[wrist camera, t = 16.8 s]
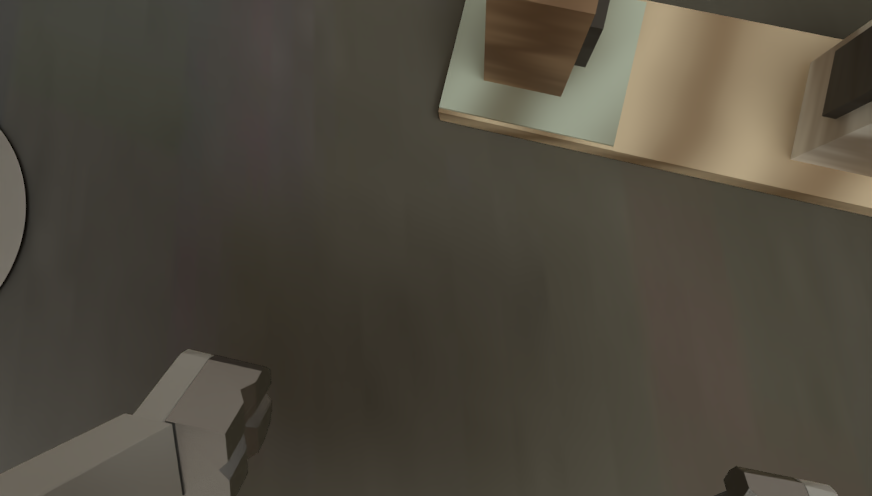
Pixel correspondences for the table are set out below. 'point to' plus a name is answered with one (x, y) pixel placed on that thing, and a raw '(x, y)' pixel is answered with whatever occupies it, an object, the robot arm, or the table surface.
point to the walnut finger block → (540, 41)
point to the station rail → (694, 101)
